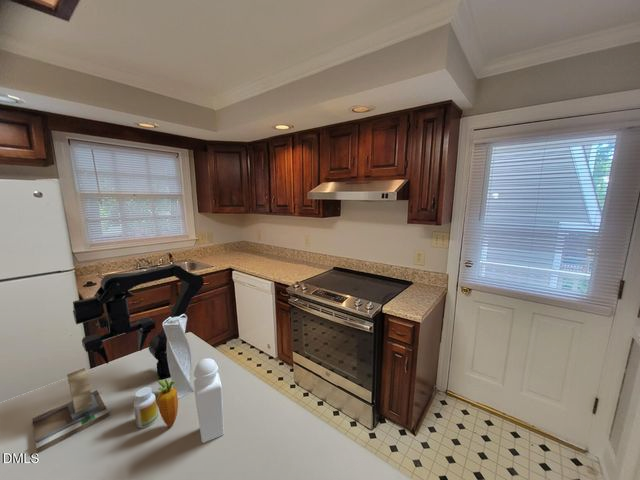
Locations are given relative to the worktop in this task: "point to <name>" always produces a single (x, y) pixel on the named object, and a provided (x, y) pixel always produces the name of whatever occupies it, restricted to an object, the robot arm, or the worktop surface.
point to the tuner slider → (81, 395)
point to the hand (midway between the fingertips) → (124, 356)
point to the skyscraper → (178, 354)
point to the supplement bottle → (145, 407)
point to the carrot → (168, 402)
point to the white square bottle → (209, 399)
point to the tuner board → (64, 424)
